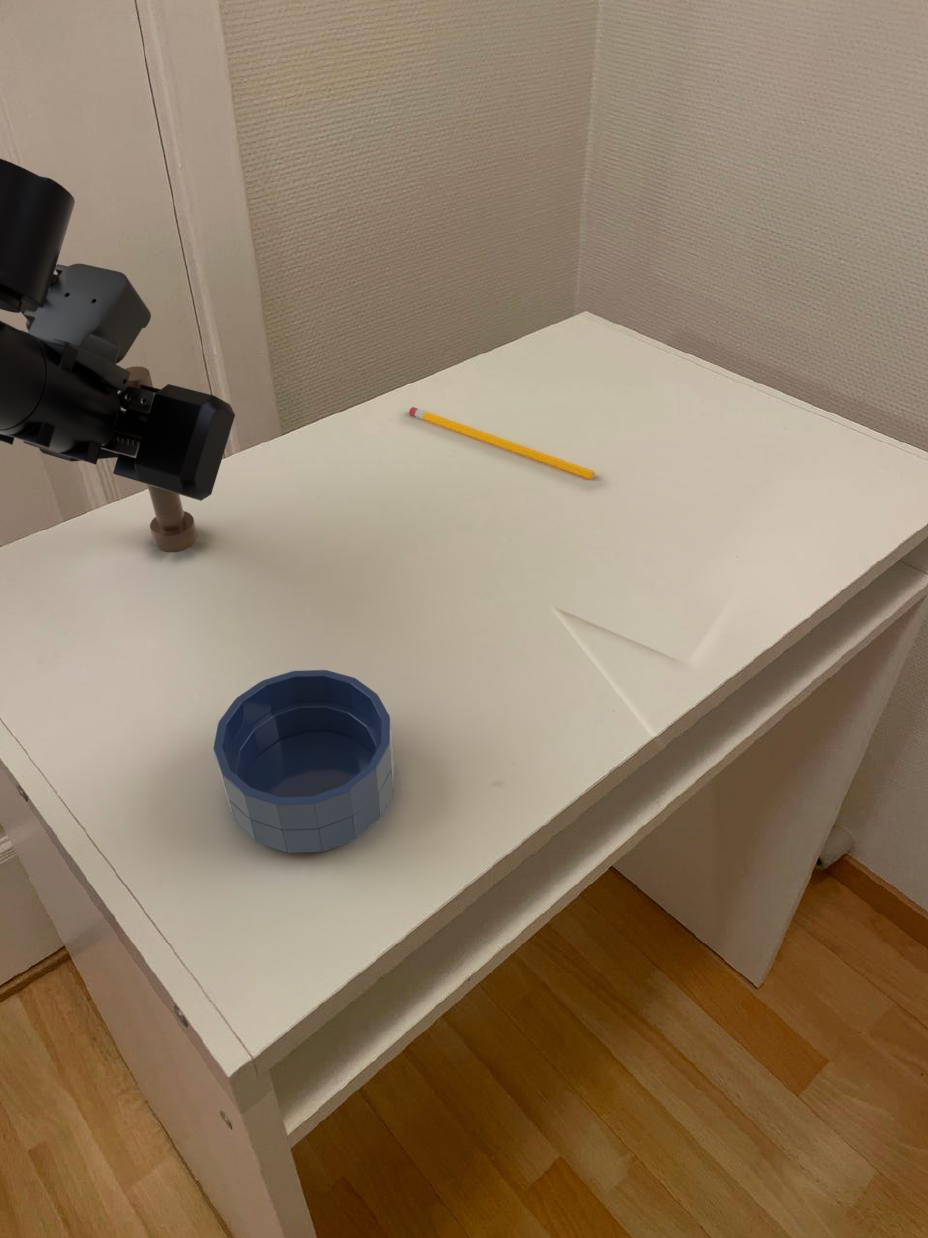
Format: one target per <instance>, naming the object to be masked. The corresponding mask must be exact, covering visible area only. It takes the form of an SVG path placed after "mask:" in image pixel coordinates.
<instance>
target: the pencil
mask: <svg viewBox="0 0 928 1238" xmlns="http://www.w3.org/2000/svg"><path fill="white" fill-rule="evenodd" d="M408 414H409V416H411V417H414V418H417V419H419V420H422V421H425V422H427V423H431V424H433V425H436V426H439V427H442V428H445V429H447V430H450V431H453V432H456V433H459V434H461V435H464V436H467V437H469V438H473V439H475V440H478V441H481V442H484V443H487V444H489V445H492V446H495V447H497V448H500V449H504V450H505V451H509V452H511V453H514V454H517V455H520V456H523V457H526V458H528V459H531V460H534V461H535V462H540V463H542V464H545V465H548V466H550V467H552V468H556V469H559V470H562V471H564V472H567V473H570V474H573V475H575V476H579V477H581V478H584V479H587V480H590V481H592V479H594V477H595V474H596V473H595V470H592V469H589V468H586V467H584V466H581V465H578V464H575V463H572V462H570V461H567V460H564V459H561V458H558V457H555V456H553V455H550V454H547V453H544V452H542V451H539V450H536V449H533V448H530V447H527V446H525V445H522V444H519V443H516V442H513V441H510V440H507V439H504V438H503V437H499V436H496V435H493V434H490V433H488V432H485V431H483V430H479V429H476V428H474V427H471V426H468V425H465V424H463V423H460V422H456V421H454V420H451V419H448V418H445V417H443V416H441V415H436V414H434V413H432V412H428V411H425V410H423V409H421V408H418V407H417V408H416V407H415V406H412V407H411V408H409V410H408Z"/></svg>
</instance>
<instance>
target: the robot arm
mask: <svg viewBox="0 0 928 1238" xmlns="http://www.w3.org/2000/svg"><path fill="white" fill-rule="evenodd" d="M75 200H76V199H75V196H73V195H72V193H71V192H70V191H68V189H66V188H65V187H64V186H63V185H61V184H60V183H58V182H57V181H56V180H54V179H52V178H50V177H46V176H41V175H38V174H37V173H34V172H33V171H30V170H29V169H27V168H25V167H23V166H20V165H18V164H16V163H13V162H11V161H9V160H6V159H2V158H0V310H2V311H5V312H9V313H13V314H20V313H21V314H22V315H23V317H24V318H25V319H26V322H25V326H26V329H27V331H24V330H22V329H18V328H16V327H15V326H13V325H10V324H8V323H6V322H4V321H3V320H0V443H3V444H7V445H12V446H13V445H14V441H15V439H17V440H20V441H22V443H23V444H26V445H29V446H30V447H31V446H32V447H34V448H38V449H39V451H40V452H41V453H42V454H43V455H44V454H45V455H48V456H51V457H55V458H58V459H60V460H65V461H68V462H73V463H74V462H85V463H89V464H91V465H95V466H96V465H97V463H98V460H105V459H115V458H116V462H115V465H114V468H113V471H112V474H113V475H116V476H119V477H123V478H126V479H130V480H132V481H136V482H140V483H142V484H145V485H147V484H148V485H150V486H154V487H157V488H160V489H163V490H166V491H169V492H173V493H176V494H179V495H180V496H183V497H186V498H190V499H194V500H197V501H200V502H201V501H204V500H205V499H206V498H208V497H210V496H211V495H212V494H213V490H214V486H215V483H216V480H217V477H218V474H219V470H220V466H221V464H222V461H223V457H224V453H225V451H226V447H227V444H228V440H229V437H230V434H231V431H232V427H233V424H234V421H235V417H236V414H235V412H234V410H233V407H232V405H231V404H230V403H229V402H226V401H225V400H223V399H221V398H219V397H218V396H216V395H215V394H209V393H206V392H202V391H198V390H194V389H190V388H186V387H182V386H178V385H175V384H170V383H167V384H166V385H165V386H163V387H162V388H158V387H154V386H153V387H150V386H146V385H142V384H140V385H139V388H136V387H132V386H127V383H128V380H129V376H130V373H131V372H129V371H127V370H126V368H124V367H122V366H119V365H118V364H119V363H120V362H121V361H123V360H124V358H125V356H127V354H128V352H129V351H130V349H131V348H132V346H133V345H134V343H135V341H136V340H137V338H138V336H139V335H140V333H141V331H142V330H143V329H146V328H147V326H148V325H149V323H150V321H151V318H152V313H151V311H150V310H149V308H148V306H147V305H146V304H145V302H144V301H143V299H142V297H141V295H139V293H138V291H137V290H136V288H135V287H134V286H133V285H132V283H131V281H130V280H129V278H128V277H127V275H126V274H125V273H123V272H122V271H117V270H113V269H109V268H103V267H99V266H95V265H91V264H86V263H73V264H70V265H63V264H60V263H59V264H58V261H59V257H60V254H61V250H62V247H63V244H64V240H65V236H66V233H67V231H68V226H69V225H70V224H69V223H70V220H71V218H72V213H73V210H74V207H75V204H76V201H75ZM55 272H56V273H57V274H55ZM126 386H127V387H126Z"/></svg>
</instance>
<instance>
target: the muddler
mask: <svg viewBox="0 0 928 1238" xmlns="http://www.w3.org/2000/svg"><path fill="white" fill-rule="evenodd" d="M125 369H126V370H127V371H129V372H131V373H130V376H129V380H128V383H127V386H132V387H136V388H139V385H140V384H142V385H146V386H150V387H154V384H153V381H152V376H151V373H150V370H149V369H148V368H146V367H144V366H138V365H137V366H129V367H127V368H126V367H125ZM127 386H126V387H127ZM146 485H147V488H148V489H147V490H148V493H149V496H150V500H151V504H152V509H153V511H154V515H155V516H154V517H153V518H152V520H151V521H150V523H149V528H150V532H151V536H152V539H153V543H154V545H155V547H156V548H157V549H159V550H160V551H163V552H181V551H183V550H186V549H188V548H190V547H191V546H193V545H194V544H195V542H196V541H197V539H198V531H197V527H196V523H195V518H194V516H193V515H192V514H191V513H190V512H188V511H187V510H186V511H185V510H184V508H183V503H182V500H181V495H180V494H176V493H173V492H169V491H166V490H163V489H160V488H157V487H154V486H150V485H148V484H146Z"/></svg>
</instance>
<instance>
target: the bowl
mask: <svg viewBox="0 0 928 1238" xmlns="http://www.w3.org/2000/svg"><path fill="white" fill-rule="evenodd" d="M212 749H213V754H214V757H215V762H216V765H217V768H218V771H219V775H220V779H221V783H222V786H223V790H224V793H225V797H226V801H227V803H228V806H229V809H230V812H231V815H232V818H233V821H234V822H235V824H236V825H237V826H238V827H239V828H240V829H241V830H242V831H244V832H245V833H246V834H247V835H248V836H249V837H250V839H252V840H253V841H255V842H256V843H258V844H260V845H263V846H266V847H268V848H272V849H274V850H278V851H281V852H284V853H288V854H293V853H294V854H296V853H299V854H300V853H320V852H321V853H322V852H326V851H328V850H331V849H334V848H337V847H339V846H341V845H345V844H347V843H349V842H352V841H355V840H357V838H359V837H360V836H361V835H362V834H363V833H364V832H366V831H367V830H368V829H369V828H370V827H372V826H373V825H374V824H375V823H376V822H378V820H380V818H381V817H382V815H383V813H384V811H385V809H386V808H387V805H388V803H389V801H390V800H391V798H392V795H394V794H393V793H394V785H395V784H394V783H395V781H394V775H395V774H394V773H395V772H394V771H395V766H394V765H395V764H394V752H393V751H394V750H393V737H392V723H391V717H390V714H389V713H388V711H387V709H386V707H385V705H384V703H383V702H382V700H381V697H380V696H379V694H378V693H377V692H375V691H374V690H372V689H371V688H370V687H368V686H367V685H366V684H364V683H363V682H362V681H360V680H359V679H357V678H355V677H353V676H349V675H346V674H343V673H339V672H336V671H331V670H328V669H315V670H314V669H310V670H307V669H306V670H305V669H304V670H291V671H287V672H285V673H282V674H279V675H276V676H272V677H269V678H266V679H263V680H261V681H259V682H257V683H256V684H255V685H253V686H252V687H250V688H249V689H247V690H245V692H242V694H240V695H238V696H237V697H236V698H235V699H234V700H233V701H232V703H231V704H230V705H229V706H228V709H227V710H226V711H225V712H224V714H223V716H222V717H221V718H220V719H219V721H218V723H217V728H216V733H215V737H214V743H213V748H212Z"/></svg>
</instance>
